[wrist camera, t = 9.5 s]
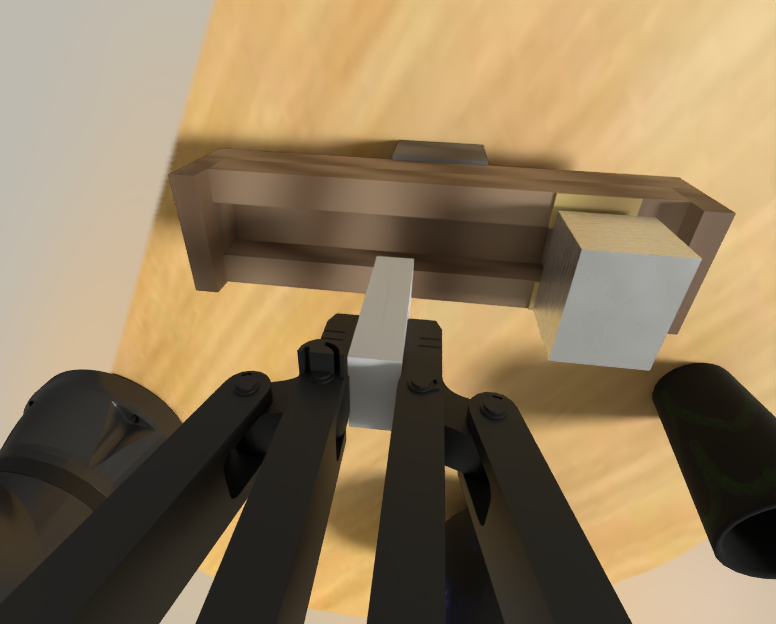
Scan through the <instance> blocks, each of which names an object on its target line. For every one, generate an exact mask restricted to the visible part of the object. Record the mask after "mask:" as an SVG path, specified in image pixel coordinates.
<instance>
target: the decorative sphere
mask: <svg viewBox="0 0 776 624" xmlns="http://www.w3.org/2000/svg"><path fill="white" fill-rule="evenodd" d="M445 610H446V624H505V623H504V619H503V616H502V613H501V610H500V607H499V604H498V600H497V597H496V594H495V591H494V588H493V585H492V581H491V578H490V575H489V572H488V569H487V566H486V563H485V559H484V556H483V553H482V550H481V547H480V544H479V540H478V537H477V534H476V531H475V528H474V525H473V521H472V518H471V515H470V512H469V510H466V511H464V512H461V513H459V514H457V515H455V516H454V517H452V518H450V519H449V520H448V521H446V522H445Z"/></svg>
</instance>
